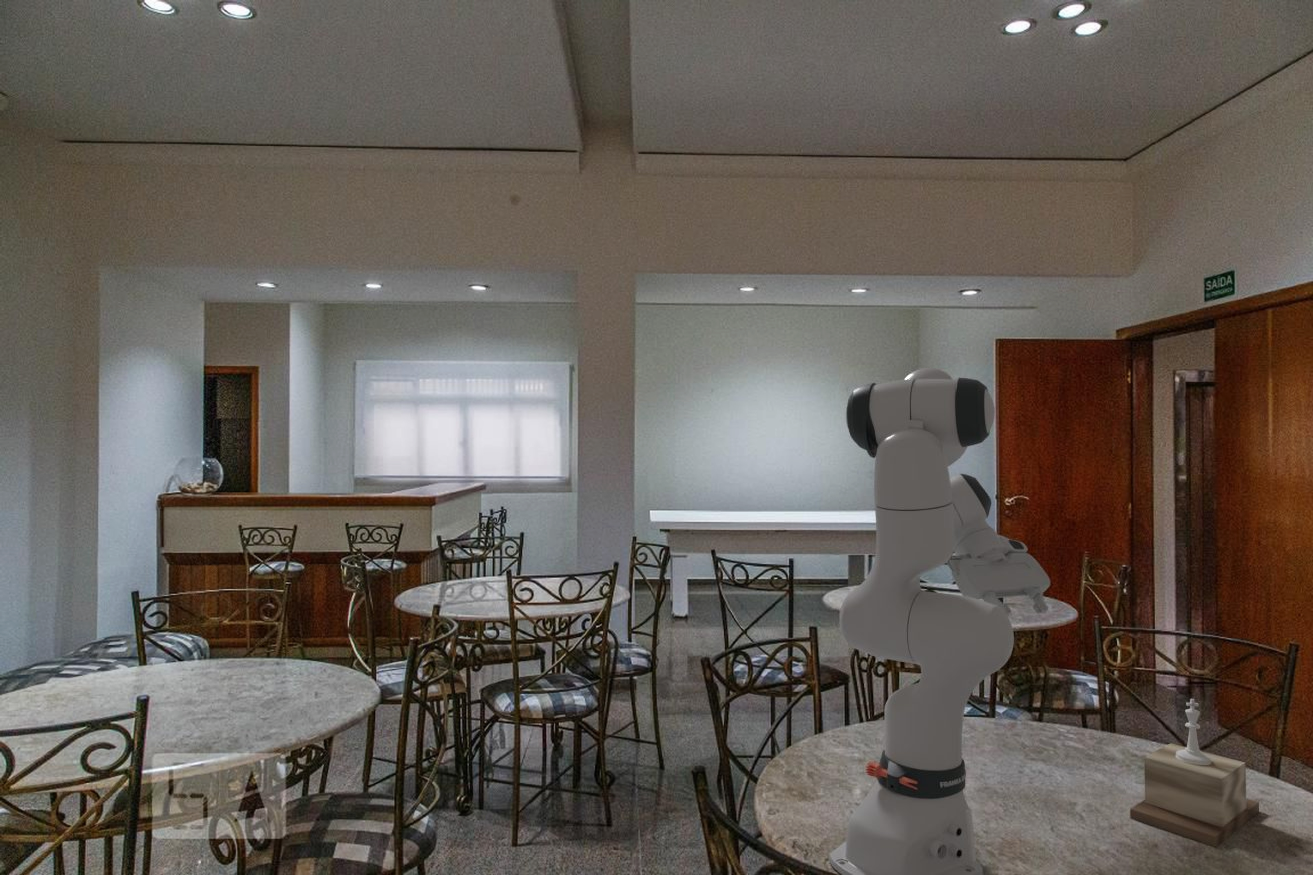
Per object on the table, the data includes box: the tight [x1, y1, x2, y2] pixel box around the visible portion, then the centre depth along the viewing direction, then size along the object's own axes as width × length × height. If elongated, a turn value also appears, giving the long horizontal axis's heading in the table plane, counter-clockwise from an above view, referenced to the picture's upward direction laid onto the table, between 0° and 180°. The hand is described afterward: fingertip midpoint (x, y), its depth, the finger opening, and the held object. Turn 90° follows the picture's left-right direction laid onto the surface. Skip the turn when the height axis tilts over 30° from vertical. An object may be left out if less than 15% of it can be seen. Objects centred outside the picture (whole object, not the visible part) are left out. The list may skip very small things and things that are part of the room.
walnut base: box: [1129, 742, 1260, 848], centre depth 130 cm, size 20×12×9 cm, turn 127°
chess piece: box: [1175, 698, 1211, 765], centre depth 131 cm, size 5×5×10 cm
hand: (1025, 613), depth 145 cm, fingers open, 8 cm apart
